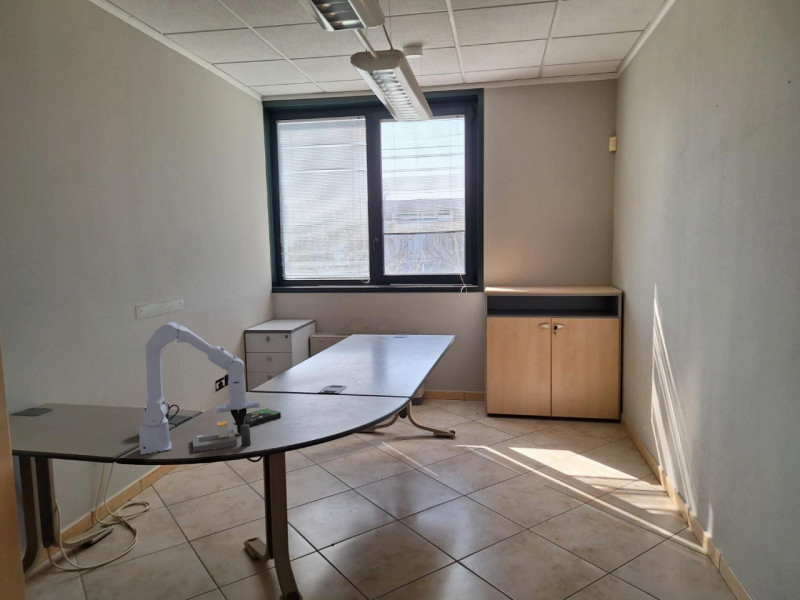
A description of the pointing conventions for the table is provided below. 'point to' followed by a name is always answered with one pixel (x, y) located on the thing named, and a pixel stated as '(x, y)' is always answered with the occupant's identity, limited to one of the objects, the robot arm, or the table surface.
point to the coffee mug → (168, 411)
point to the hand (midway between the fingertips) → (239, 429)
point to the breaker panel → (213, 441)
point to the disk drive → (261, 416)
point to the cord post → (245, 435)
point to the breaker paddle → (222, 429)
